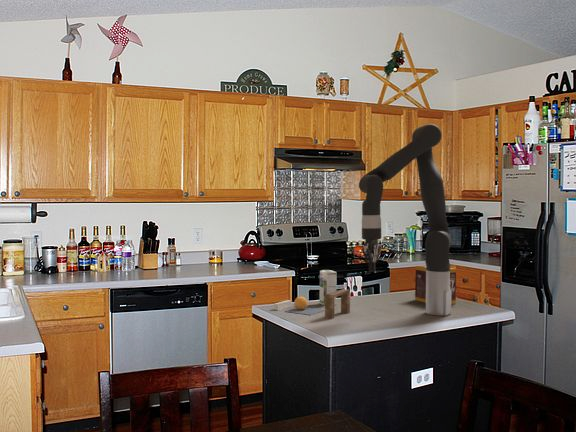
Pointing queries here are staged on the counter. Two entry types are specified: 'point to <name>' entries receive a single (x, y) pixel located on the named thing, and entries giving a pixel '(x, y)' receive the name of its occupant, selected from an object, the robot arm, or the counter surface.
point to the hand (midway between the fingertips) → (372, 271)
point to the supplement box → (421, 284)
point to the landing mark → (306, 311)
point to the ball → (300, 303)
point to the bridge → (330, 302)
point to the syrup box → (327, 284)
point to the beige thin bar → (283, 305)
